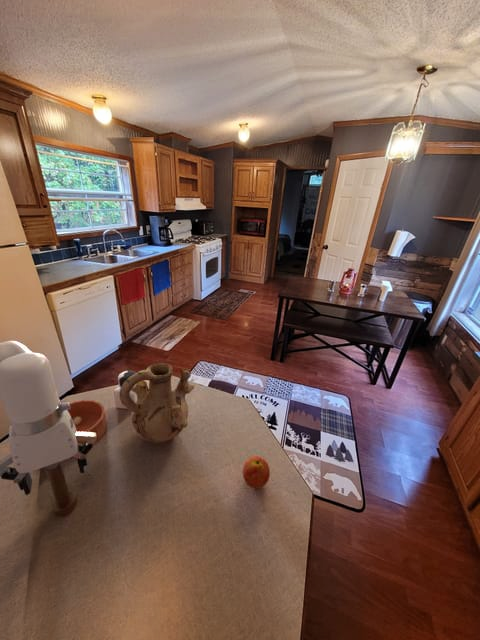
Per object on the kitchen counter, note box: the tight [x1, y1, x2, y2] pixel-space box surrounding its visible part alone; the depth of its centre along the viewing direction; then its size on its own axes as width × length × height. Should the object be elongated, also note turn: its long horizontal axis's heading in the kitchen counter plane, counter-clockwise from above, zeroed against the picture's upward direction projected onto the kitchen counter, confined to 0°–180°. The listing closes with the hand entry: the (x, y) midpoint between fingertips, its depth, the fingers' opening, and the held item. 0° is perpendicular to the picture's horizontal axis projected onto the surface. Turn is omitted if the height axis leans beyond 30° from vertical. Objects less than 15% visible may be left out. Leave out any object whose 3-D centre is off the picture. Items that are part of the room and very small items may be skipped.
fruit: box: [242, 455, 271, 489], centre depth 65 cm, size 7×7×8 cm
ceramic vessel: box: [119, 362, 195, 444], centre depth 74 cm, size 18×19×25 cm
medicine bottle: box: [113, 370, 137, 410], centre depth 88 cm, size 7×7×12 cm
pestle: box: [44, 461, 78, 518], centre depth 55 cm, size 4×4×14 cm
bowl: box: [67, 399, 108, 446], centre depth 75 cm, size 15×15×6 cm
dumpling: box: [73, 417, 82, 425], centre depth 79 cm, size 2×2×2 cm
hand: (56, 477), depth 54 cm, fingers open, 9 cm apart
